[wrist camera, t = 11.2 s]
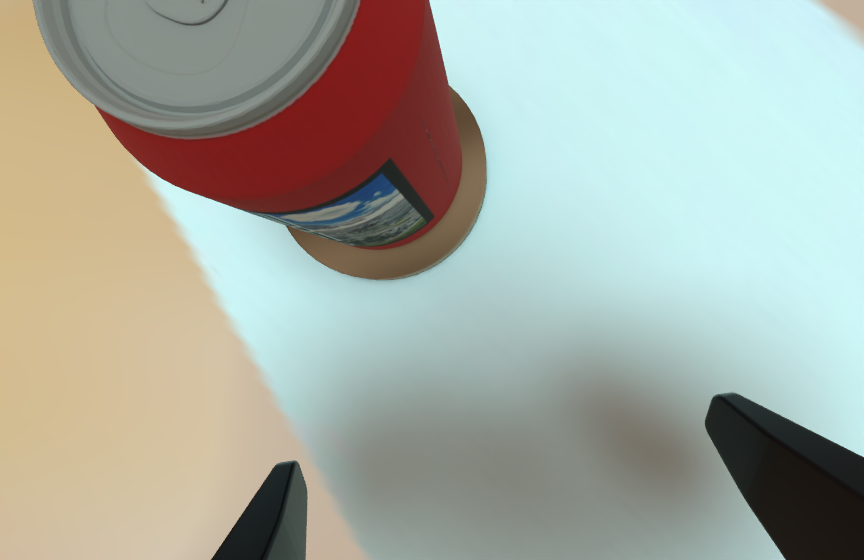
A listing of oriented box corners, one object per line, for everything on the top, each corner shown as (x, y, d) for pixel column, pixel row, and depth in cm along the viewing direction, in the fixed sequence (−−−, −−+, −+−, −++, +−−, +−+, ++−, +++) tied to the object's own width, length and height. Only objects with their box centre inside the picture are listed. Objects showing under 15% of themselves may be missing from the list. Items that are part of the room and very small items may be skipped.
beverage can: (278, 212, 19) (-72, 79, 7) (345, 66, 19) (95, -318, 7) (421, 280, 18) (284, 252, 6) (492, 126, 18) (489, -198, 6)
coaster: (528, 202, 19) (531, 194, 18) (356, 319, 20) (346, 321, 19) (412, 39, 20) (406, 19, 19) (253, 157, 21) (235, 146, 20)
